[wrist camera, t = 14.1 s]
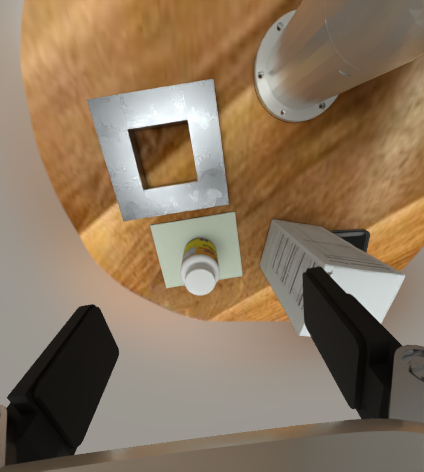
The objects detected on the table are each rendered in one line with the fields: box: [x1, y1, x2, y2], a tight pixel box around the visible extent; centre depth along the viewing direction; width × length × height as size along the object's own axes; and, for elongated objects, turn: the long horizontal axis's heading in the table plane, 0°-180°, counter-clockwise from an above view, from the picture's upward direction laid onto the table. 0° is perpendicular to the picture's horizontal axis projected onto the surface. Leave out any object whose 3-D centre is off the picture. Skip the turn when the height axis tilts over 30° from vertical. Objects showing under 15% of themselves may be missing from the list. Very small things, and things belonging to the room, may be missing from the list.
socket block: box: [87, 79, 229, 221], centre depth 32 cm, size 16×16×3 cm
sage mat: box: [150, 211, 243, 288], centre depth 39 cm, size 14×12×1 cm
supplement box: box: [259, 219, 405, 337], centre depth 31 cm, size 10×9×17 cm
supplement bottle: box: [180, 237, 220, 295], centre depth 33 cm, size 6×6×10 cm
